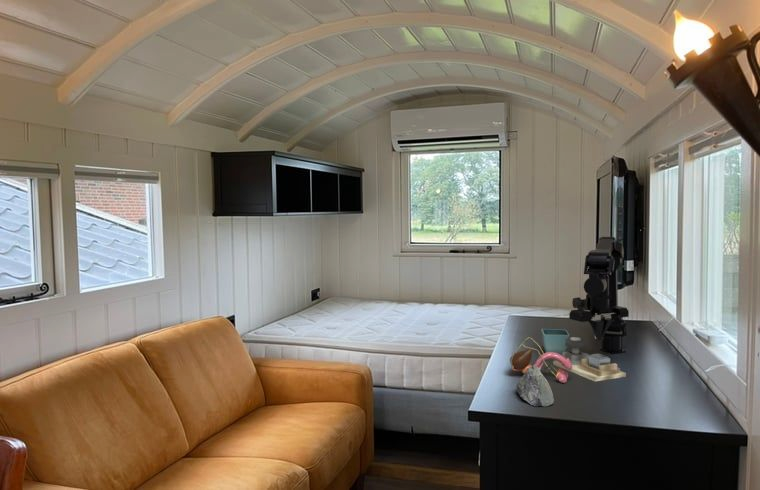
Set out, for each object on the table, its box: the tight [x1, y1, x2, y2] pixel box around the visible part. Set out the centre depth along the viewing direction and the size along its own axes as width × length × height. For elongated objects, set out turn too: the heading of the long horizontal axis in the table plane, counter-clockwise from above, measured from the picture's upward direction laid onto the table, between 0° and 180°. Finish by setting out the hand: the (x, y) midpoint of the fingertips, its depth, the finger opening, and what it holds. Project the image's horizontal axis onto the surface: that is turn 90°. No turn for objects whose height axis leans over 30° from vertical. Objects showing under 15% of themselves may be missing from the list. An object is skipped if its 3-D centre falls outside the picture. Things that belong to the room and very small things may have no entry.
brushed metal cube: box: [589, 353, 611, 370], centre depth 169 cm, size 4×5×5 cm
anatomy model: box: [509, 336, 572, 384], centre depth 167 cm, size 11×15×17 cm
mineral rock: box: [515, 364, 555, 407], centre depth 149 cm, size 13×11×10 cm
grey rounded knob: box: [565, 336, 587, 355], centre depth 180 cm, size 6×6×5 cm
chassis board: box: [552, 350, 627, 382], centre depth 174 cm, size 12×20×4 cm, turn 19°
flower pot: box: [541, 328, 570, 355], centre depth 191 cm, size 9×9×9 cm
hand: (599, 340), depth 169 cm, fingers closed
